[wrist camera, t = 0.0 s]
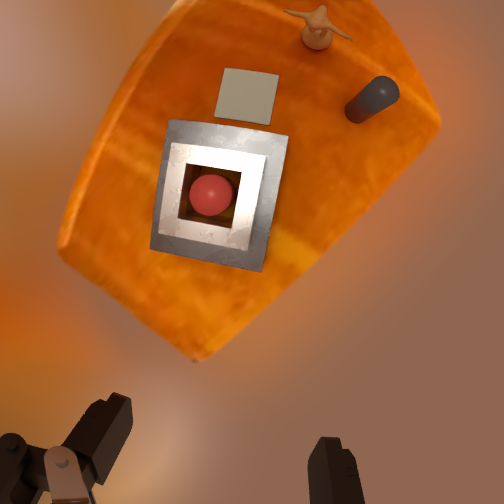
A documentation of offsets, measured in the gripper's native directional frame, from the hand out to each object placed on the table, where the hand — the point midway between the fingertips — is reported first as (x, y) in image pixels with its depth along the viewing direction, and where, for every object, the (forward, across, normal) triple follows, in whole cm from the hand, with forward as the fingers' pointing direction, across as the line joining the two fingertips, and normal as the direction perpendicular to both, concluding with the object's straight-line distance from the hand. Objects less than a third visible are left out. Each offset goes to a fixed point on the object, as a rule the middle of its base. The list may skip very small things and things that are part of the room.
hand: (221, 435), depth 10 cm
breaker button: (+27, +6, -7) cm, 29 cm away
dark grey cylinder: (+29, -9, -21) cm, 37 cm away
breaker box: (+29, +6, -7) cm, 31 cm away
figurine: (+30, -2, -29) cm, 41 cm away
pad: (+29, +5, -20) cm, 36 cm away
